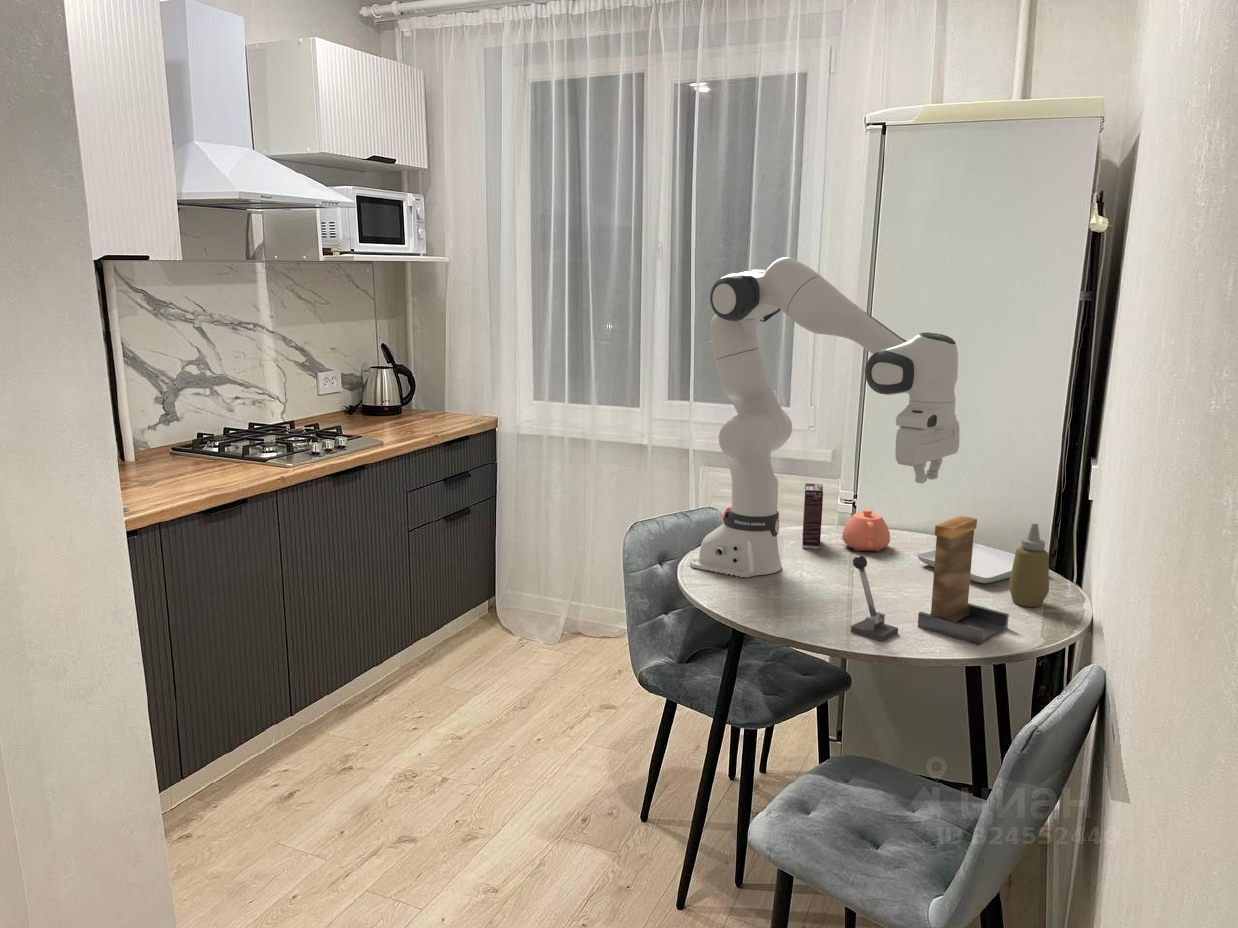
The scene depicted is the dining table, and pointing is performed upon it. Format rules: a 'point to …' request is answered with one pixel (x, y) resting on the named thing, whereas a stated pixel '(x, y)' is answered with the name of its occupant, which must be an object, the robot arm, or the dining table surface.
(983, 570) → the salad plate
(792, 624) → the dining table surface
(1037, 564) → the squeeze bottle
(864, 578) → the toggle lever
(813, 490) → the supplement box
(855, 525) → the sugar bowl
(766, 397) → the robot arm
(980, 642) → the paddle track
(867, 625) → the lever base
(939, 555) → the walnut paddle
